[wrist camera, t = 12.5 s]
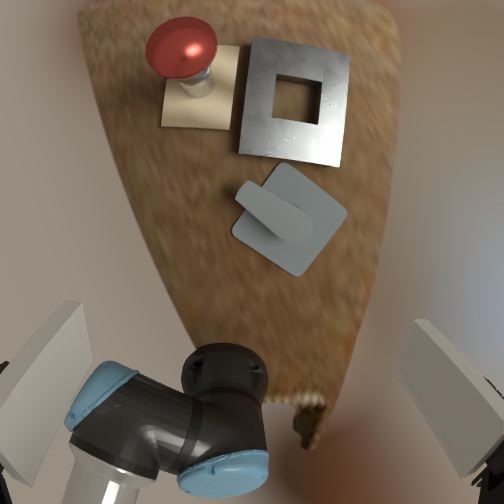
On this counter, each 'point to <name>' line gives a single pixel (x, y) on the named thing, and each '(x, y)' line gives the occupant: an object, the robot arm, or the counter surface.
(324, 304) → the counter surface
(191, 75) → the red mushroom button
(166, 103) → the birch pad
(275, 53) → the eye plate
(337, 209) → the shower valve
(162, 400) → the robot arm
